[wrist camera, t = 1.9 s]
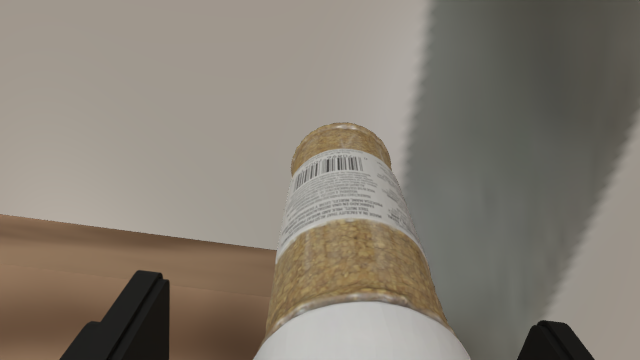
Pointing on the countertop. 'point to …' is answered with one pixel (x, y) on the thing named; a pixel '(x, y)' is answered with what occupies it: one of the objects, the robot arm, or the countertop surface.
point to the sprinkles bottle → (351, 261)
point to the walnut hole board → (111, 278)
